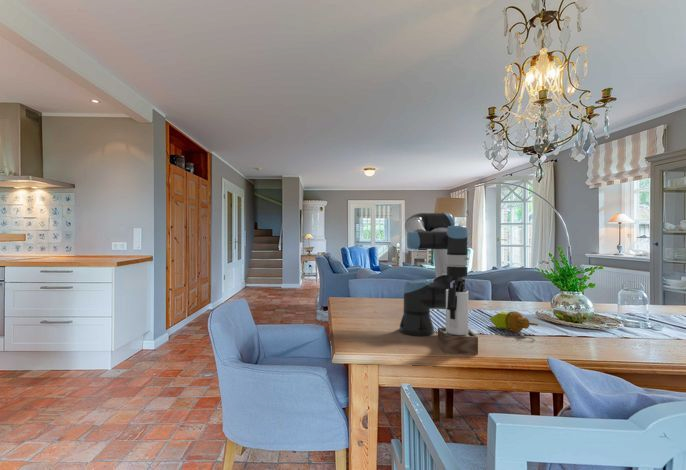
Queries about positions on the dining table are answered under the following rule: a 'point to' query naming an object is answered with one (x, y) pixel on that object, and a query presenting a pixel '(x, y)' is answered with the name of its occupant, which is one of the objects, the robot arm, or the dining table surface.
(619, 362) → the dining table surface
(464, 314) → the cup
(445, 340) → the brown wooden square box
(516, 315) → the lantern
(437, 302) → the robot arm
